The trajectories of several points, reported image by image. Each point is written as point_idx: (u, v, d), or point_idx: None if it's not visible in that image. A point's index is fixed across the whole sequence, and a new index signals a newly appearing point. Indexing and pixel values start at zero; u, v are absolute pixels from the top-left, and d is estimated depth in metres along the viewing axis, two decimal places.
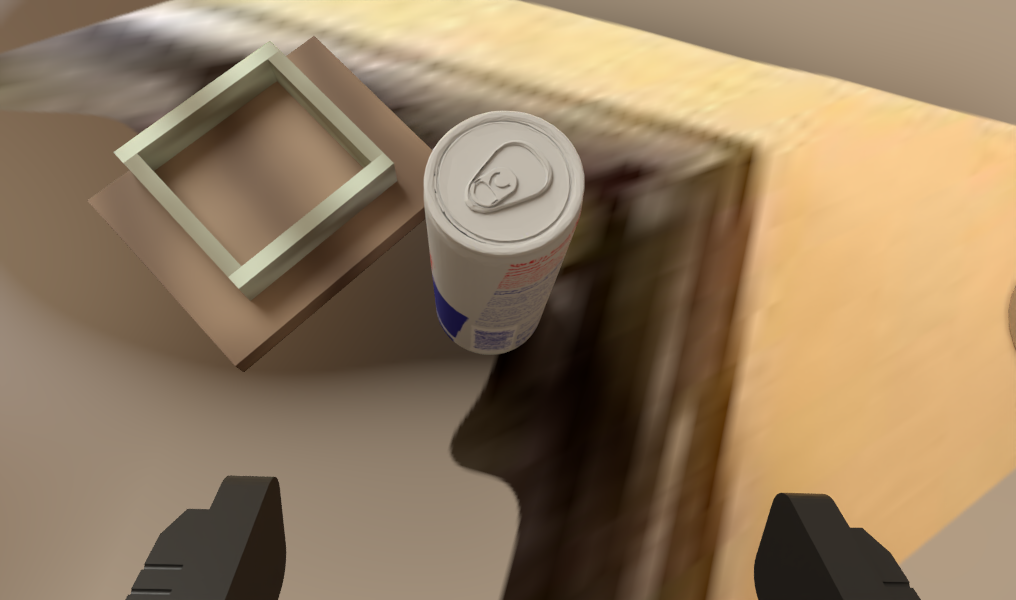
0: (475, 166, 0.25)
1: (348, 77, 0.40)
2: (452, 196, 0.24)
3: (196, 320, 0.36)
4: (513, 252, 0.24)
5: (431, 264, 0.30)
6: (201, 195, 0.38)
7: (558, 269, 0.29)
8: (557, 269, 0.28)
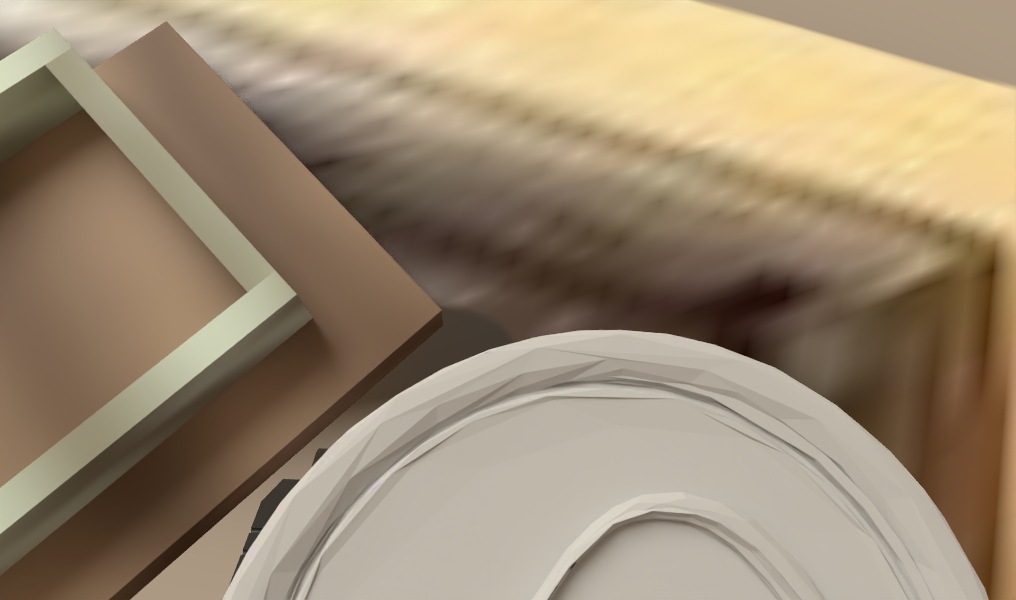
0: None
1: (227, 102, 0.21)
2: None
3: None
4: None
5: None
6: None
7: None
8: None
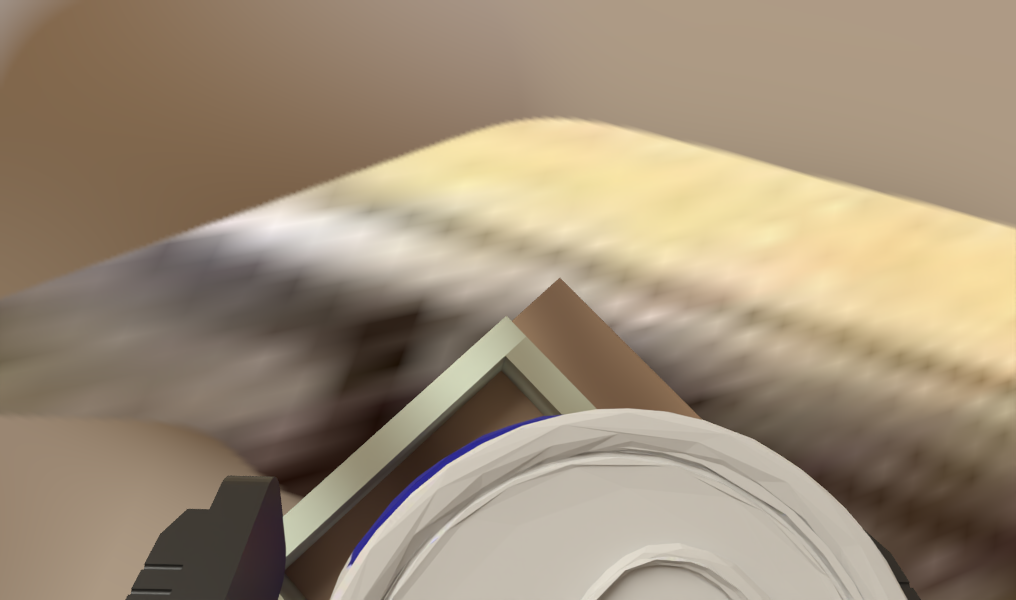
0: None
1: (628, 361, 0.22)
2: None
3: None
4: None
5: None
6: None
7: None
8: None
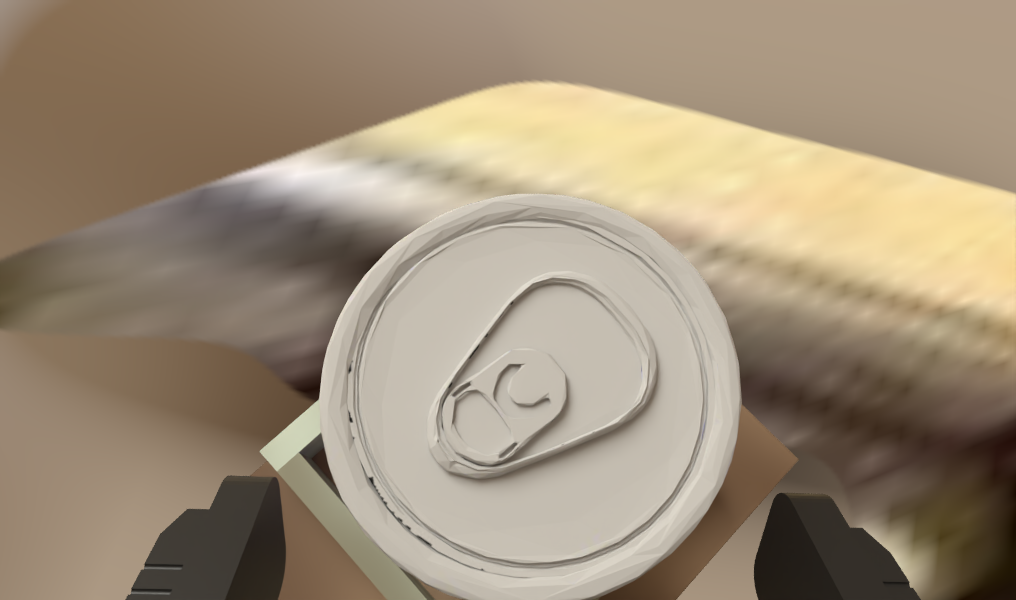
0: (458, 344, 0.09)
1: None
2: (394, 432, 0.09)
3: None
4: None
5: None
6: None
7: None
8: None
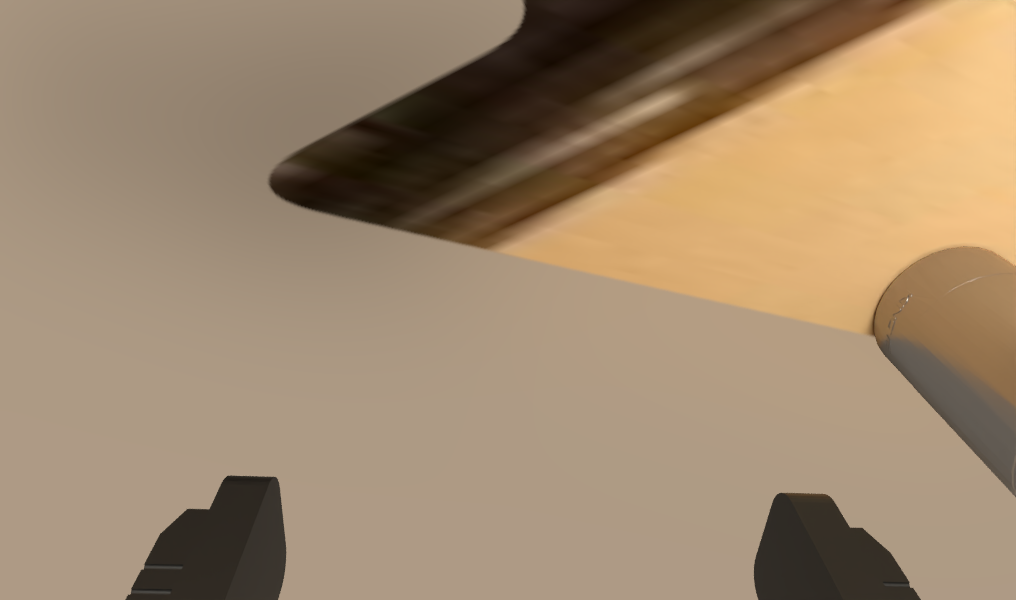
0: None
1: None
2: None
3: None
4: None
5: None
6: None
7: None
8: None
